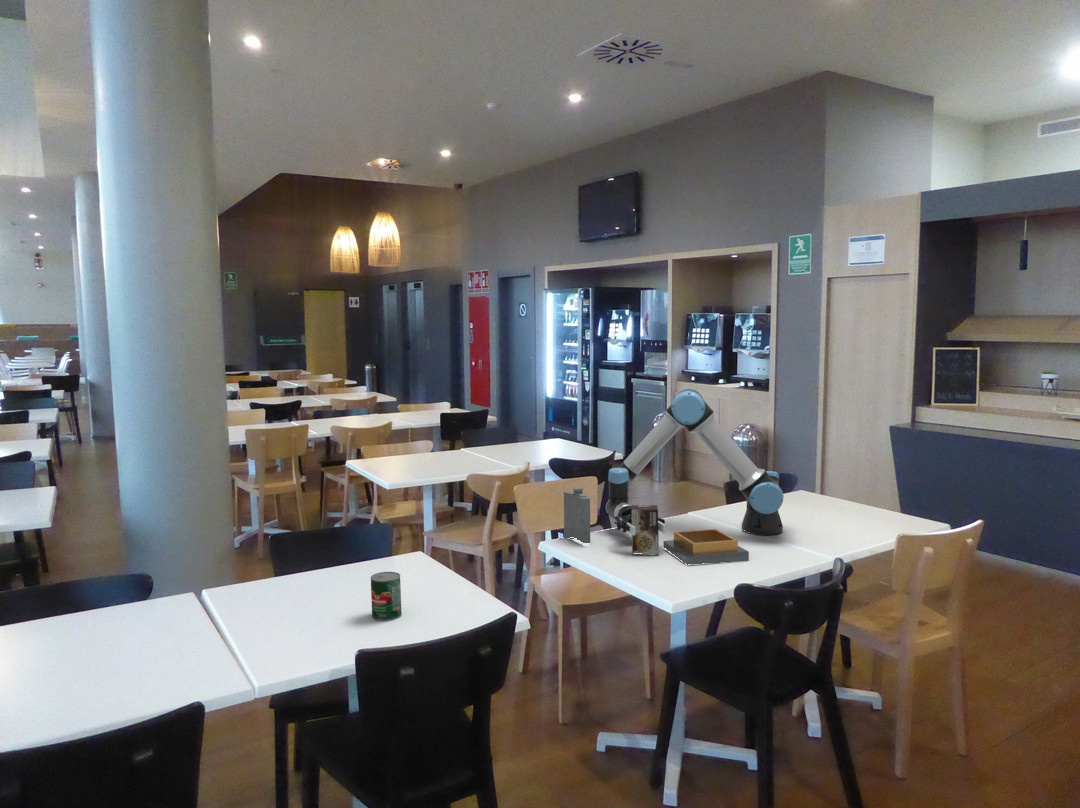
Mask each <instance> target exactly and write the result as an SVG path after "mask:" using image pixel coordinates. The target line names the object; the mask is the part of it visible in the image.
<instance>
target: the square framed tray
mask: <svg viewBox="0 0 1080 808" xmlns="http://www.w3.org/2000/svg"><path fill="white" fill-rule="evenodd" d="M662 547H664V548H666V549H667V550H668V551H670V552H671V553H672V554H674V555H675V556H676V557H678V558H679V559H680V560H682V561H683V562H684V563H686V564H687V565H688V564H702V563H715V564H721V563H720V562H727V563H733V562H732V561H738V562H747V561H750V552H749V550H746V549H744V548H743V547H741V546H739V541H738V539H736V538H734V537H732V536H730V535H728V534H726V533H725V532H723V531H721V530H719V529H717V528H710V529H708V528H707V529H696V530H685V531H684V530H682V531H673V539H672V540H671V539H669V540H663V546H662ZM684 563H683V564H684Z"/></svg>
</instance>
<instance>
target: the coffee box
mask: <svg viewBox="0 0 1080 808" xmlns="http://www.w3.org/2000/svg"><path fill="white" fill-rule="evenodd" d="M631 512H632V525H633V526H634V527H635V535H632V534H631V554H632V553H642V554H659V555H660V549H659V548H660V546H659V545H660V543H659V541H660V540H659V530H658V518H659V507H658V505H657V504H649V505H648V504H645V505H644V504H640V505H638V504H637V505H636V504H635V505H633V504H632V505H631Z"/></svg>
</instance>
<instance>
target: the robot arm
mask: <svg viewBox="0 0 1080 808" xmlns="http://www.w3.org/2000/svg"><path fill="white" fill-rule="evenodd" d="M681 428H685V429H686V430H687V431H688V432H689V433H691V434H695V435H696V436H697V437H698V438H699V439H700V440H701V441H702V443H704V445H705V446H706V447H707V448H708V449H709V450H710V452H711V453H712V454H713V455H714V456H715V457H716V458H717V459H718V461H719V462H720V463H721V464H722V466H724V468H725V469H726V470H727V471H728V472H729V473H730V474H731V476H732V477H733V478H734V479H735V481H737V483H738V485H739V486H738V490H739V491H740V492H741V494H742V495H743V496H744V497H745V498H746V510H745V514H744V516H743V520H742V522H741V530H742V529H743V530H745V531H747V532H750V533H749V534H751V533H754V534H753V535H757V534H762V535H761V536H774V534H776V535H780V534H782V533H783V532H784V527H783V526H784V525H783V522H782V520H781V516H780V513H779V509H780V508H781V507H782V505H783V503H784V491H783V490H782V488H781V486H780V485H779V483H780V482H779V481H780V476H779V472H777V471H772V470H770V471H769V470H765V469H764V468H758V467H757V466H756V465H755V464H754V462H753V461H752V460H751V458H749V457H748V455H747V454H745V452H744V451H743V449H741V447H740V446H739V445H738V444H737V443H736V442H735V441H734V440H733V438H732V437H731V436H730V435H729V434H728V432H726V430H725V429H724V428H723V427H722V426H721V425H720V423H719V422H718V421H717V420H716V419H715V411H714V410H713V409H712V408H711V407H710V405H708V403H707V401H706V400H704V398H703V396H702V394H701V393H700V392H699V391H697V390H694V389H692V388H687V389H683V390H681V391H679V392H677V394H675V397H674V398H673V399H672V401H671V404H670V405H669V406H668V407H667V409H665V415H664V416H663V417H662V418H661V419H660V420H659V422H658V423H657V424H656V425H655V426H654V427H653V428H652V429H651V431H649V432H648V433H647V435H646V436H644V438H643V439H642V440H641V441H640V443H639V444H637V446H636V447H635V448H634V449H633V450H632V451H631V453H630V454H629V455H628V456H627V458H625V459H624V460H623V462H622V463H620V465H619V466H618V467H612V468H610V469H609V470H608V477H607V480H608V500H607V501H606V504H605V511H606V513H607V514H608V516H609V517H611V518H612V519H614V524H615V525H616V530H617V531H621V530H622V532H623V533H627V532H628V533H629V534H630V535H631V536H632V535H635V527H634V526H633V525H632V512H631V506H632V505H631V504H630V503H629V498H630V497H629V486H630V484H631V483H632V482H633V481H634V479H636V477H637V476H638V475H639V474H640V473H641V471H643V470H644V468H645V467H646V466H647V465H648V464H649V463H650V462H651V461H652V460H653V458H655V456H656V455H657V454H659V452H660V451H661V449H663V447H664V446H665V445H666V444H667V443H668V442H669V441H670V440H671V439H672V438H673V436H674V435H676V433H677V432H678V431H679V430H680V429H681ZM743 530H742V531H743ZM658 531H659V532H662V533H663V534H665V533H666V520H665V519H663V518H661V517H658ZM747 532H746V533H747ZM779 533H780V534H779Z"/></svg>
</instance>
